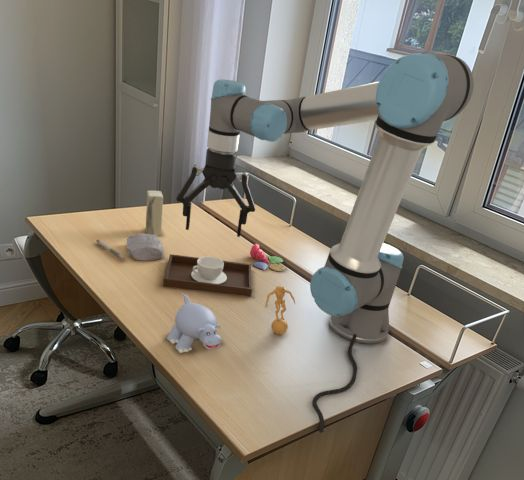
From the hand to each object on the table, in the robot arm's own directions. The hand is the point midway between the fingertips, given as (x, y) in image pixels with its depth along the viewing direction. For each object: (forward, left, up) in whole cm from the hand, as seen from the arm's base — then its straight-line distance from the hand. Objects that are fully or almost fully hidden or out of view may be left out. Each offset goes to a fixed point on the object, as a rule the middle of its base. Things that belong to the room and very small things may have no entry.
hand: (213, 231), depth 146 cm
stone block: (+12, +20, -14) cm, 27 cm away
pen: (+9, +29, -14) cm, 33 cm away
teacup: (0, 0, -14) cm, 14 cm away
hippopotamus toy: (-34, +1, -14) cm, 36 cm away
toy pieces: (+15, -17, -14) cm, 27 cm away
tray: (0, 0, -14) cm, 14 cm away
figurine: (-24, -18, -14) cm, 33 cm away
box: (+27, +19, -14) cm, 36 cm away
